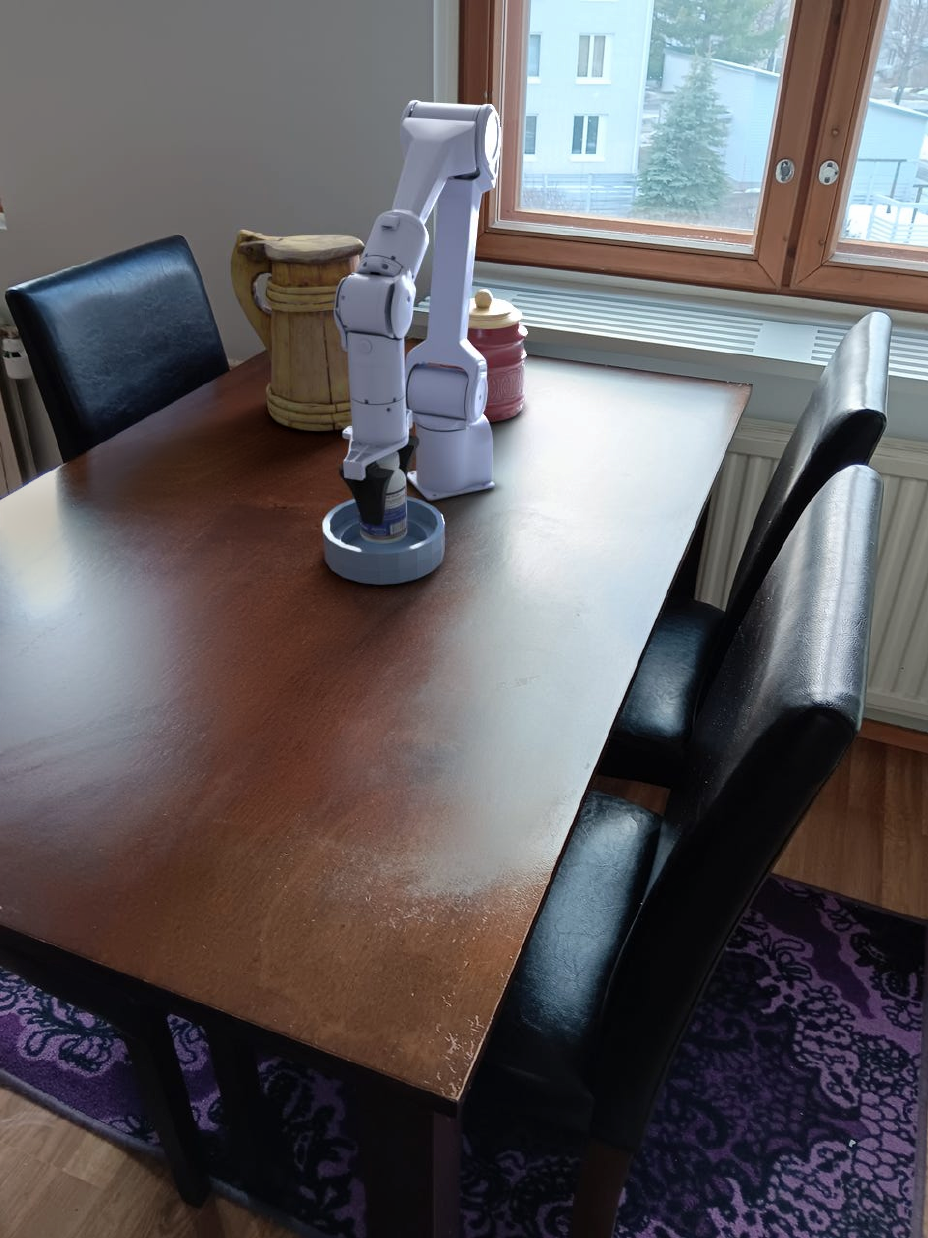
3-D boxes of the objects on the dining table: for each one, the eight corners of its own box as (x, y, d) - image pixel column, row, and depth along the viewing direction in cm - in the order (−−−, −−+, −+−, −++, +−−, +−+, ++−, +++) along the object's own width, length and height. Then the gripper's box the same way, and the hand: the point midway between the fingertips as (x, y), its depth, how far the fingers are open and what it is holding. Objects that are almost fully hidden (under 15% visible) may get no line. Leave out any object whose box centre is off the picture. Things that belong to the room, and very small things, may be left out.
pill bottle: (359, 523, 111) (355, 444, 106) (406, 521, 112) (404, 443, 106) (359, 546, 107) (354, 466, 101) (408, 545, 107) (406, 464, 102)
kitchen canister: (471, 385, 155) (472, 272, 145) (540, 403, 149) (546, 287, 139) (421, 410, 147) (419, 292, 137) (492, 431, 140) (495, 309, 130)
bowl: (415, 519, 119) (414, 485, 116) (464, 572, 109) (464, 537, 106) (309, 542, 114) (306, 508, 111) (349, 600, 104) (347, 564, 101)
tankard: (369, 441, 137) (360, 259, 123) (218, 422, 142) (192, 245, 128) (408, 394, 152) (403, 226, 138) (269, 379, 157) (251, 215, 142)
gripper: (369, 366, 107) (374, 478, 115) (312, 415, 95) (322, 535, 103) (429, 374, 105) (430, 487, 113) (378, 424, 94) (383, 546, 101)
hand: (382, 511), depth 108 cm, fingers closed on pill bottle, 5 cm apart
